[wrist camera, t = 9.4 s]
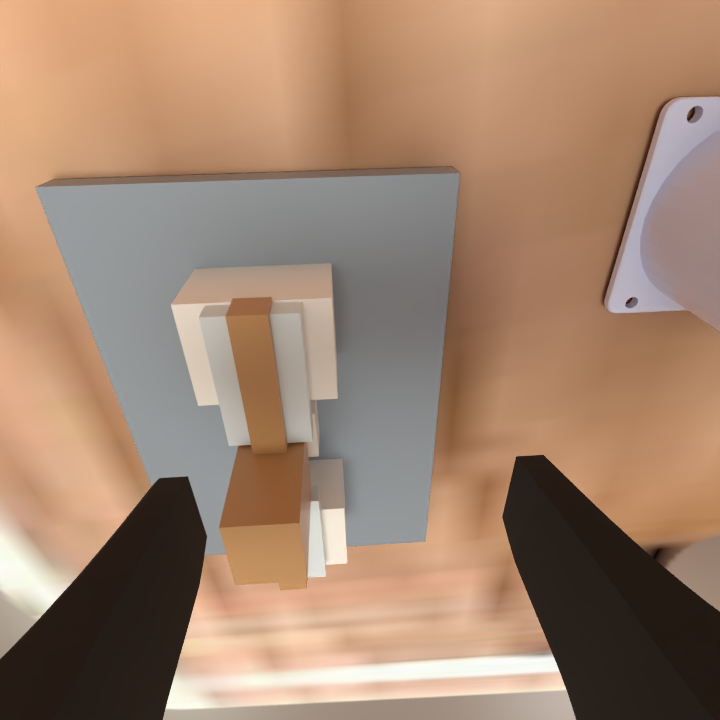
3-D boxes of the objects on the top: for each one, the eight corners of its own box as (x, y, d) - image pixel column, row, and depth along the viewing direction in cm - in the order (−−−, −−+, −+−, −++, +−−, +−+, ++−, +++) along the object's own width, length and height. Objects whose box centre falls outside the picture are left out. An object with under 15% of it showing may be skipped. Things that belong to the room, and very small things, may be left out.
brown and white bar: (300, 295, 14) (291, 371, 11) (326, 563, 22) (325, 658, 18) (203, 299, 14) (161, 377, 11) (263, 567, 22) (250, 664, 18)
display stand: (452, 166, 16) (485, 194, 13) (421, 524, 27) (435, 592, 24) (53, 179, 16) (-25, 212, 12) (184, 538, 27) (163, 610, 23)
